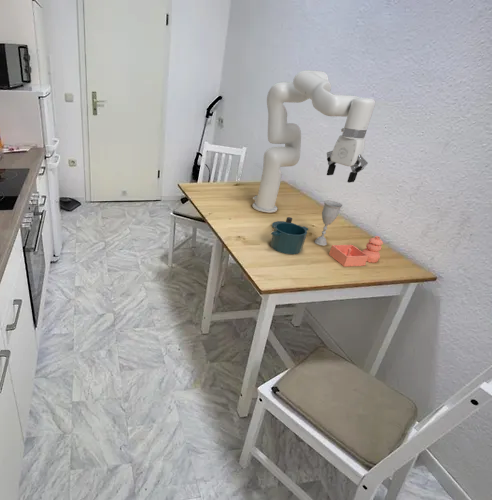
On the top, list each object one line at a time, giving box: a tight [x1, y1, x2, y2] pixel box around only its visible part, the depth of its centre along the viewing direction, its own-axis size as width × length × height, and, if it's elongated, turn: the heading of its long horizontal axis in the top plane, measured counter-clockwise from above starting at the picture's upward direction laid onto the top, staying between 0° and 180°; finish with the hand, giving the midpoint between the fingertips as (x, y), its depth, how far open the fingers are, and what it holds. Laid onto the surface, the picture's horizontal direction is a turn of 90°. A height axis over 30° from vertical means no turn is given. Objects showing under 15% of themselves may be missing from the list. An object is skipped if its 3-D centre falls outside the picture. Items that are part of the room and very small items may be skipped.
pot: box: [269, 222, 309, 255], centre depth 148 cm, size 12×18×8 cm
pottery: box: [328, 235, 384, 267], centre depth 141 cm, size 18×10×10 cm, turn 99°
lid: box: [271, 216, 298, 229], centre depth 165 cm, size 13×13×6 cm
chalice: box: [314, 199, 343, 246], centre depth 151 cm, size 7×7×18 cm
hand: (339, 178), depth 142 cm, fingers open, 9 cm apart
